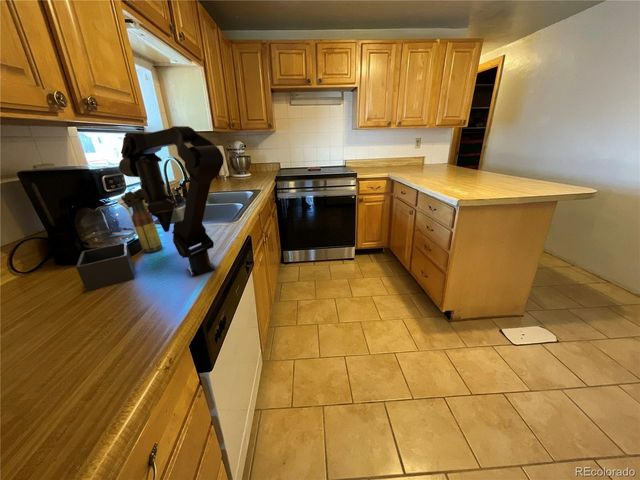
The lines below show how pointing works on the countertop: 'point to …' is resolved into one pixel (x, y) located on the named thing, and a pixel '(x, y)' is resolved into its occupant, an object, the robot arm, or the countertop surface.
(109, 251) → the trash bin
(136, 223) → the sauce bottle
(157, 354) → the countertop surface
